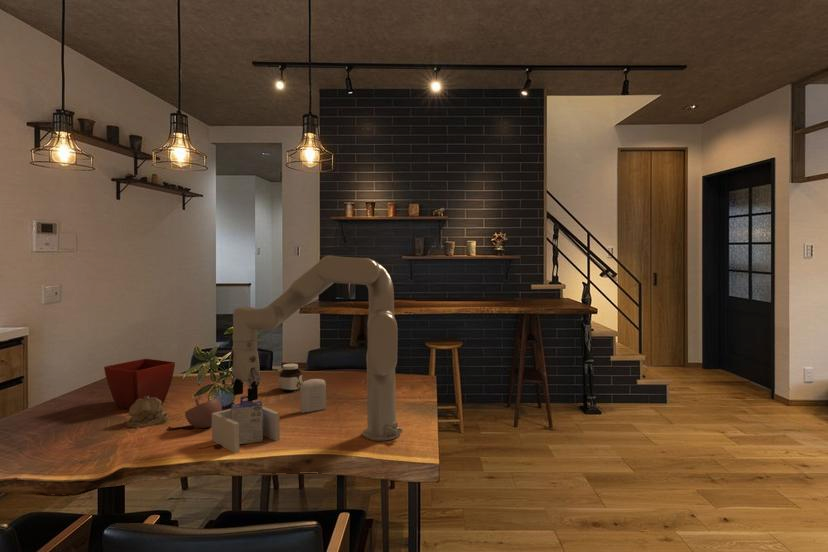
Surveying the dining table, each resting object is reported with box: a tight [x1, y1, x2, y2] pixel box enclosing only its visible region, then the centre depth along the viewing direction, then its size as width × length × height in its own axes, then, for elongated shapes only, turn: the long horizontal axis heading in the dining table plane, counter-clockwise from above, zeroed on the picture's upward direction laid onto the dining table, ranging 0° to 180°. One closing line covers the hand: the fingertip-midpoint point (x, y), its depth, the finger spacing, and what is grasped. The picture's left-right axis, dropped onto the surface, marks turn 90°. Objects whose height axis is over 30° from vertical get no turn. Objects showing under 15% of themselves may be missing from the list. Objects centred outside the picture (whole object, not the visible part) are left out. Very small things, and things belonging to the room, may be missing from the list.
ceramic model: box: [126, 396, 170, 428], centre depth 183 cm, size 14×11×10 cm
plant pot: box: [103, 358, 176, 410], centre depth 205 cm, size 19×19×17 cm
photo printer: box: [299, 378, 327, 414], centre depth 196 cm, size 10×4×12 cm, turn 123°
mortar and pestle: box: [184, 394, 223, 429], centre depth 177 cm, size 12×12×12 cm
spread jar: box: [278, 363, 303, 393], centre depth 228 cm, size 12×11×12 cm
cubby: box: [211, 405, 281, 454], centre depth 164 cm, size 16×16×9 cm
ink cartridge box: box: [230, 395, 264, 445], centre depth 163 cm, size 10×6×14 cm, turn 112°
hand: (245, 397), depth 163 cm, fingers open, 9 cm apart
